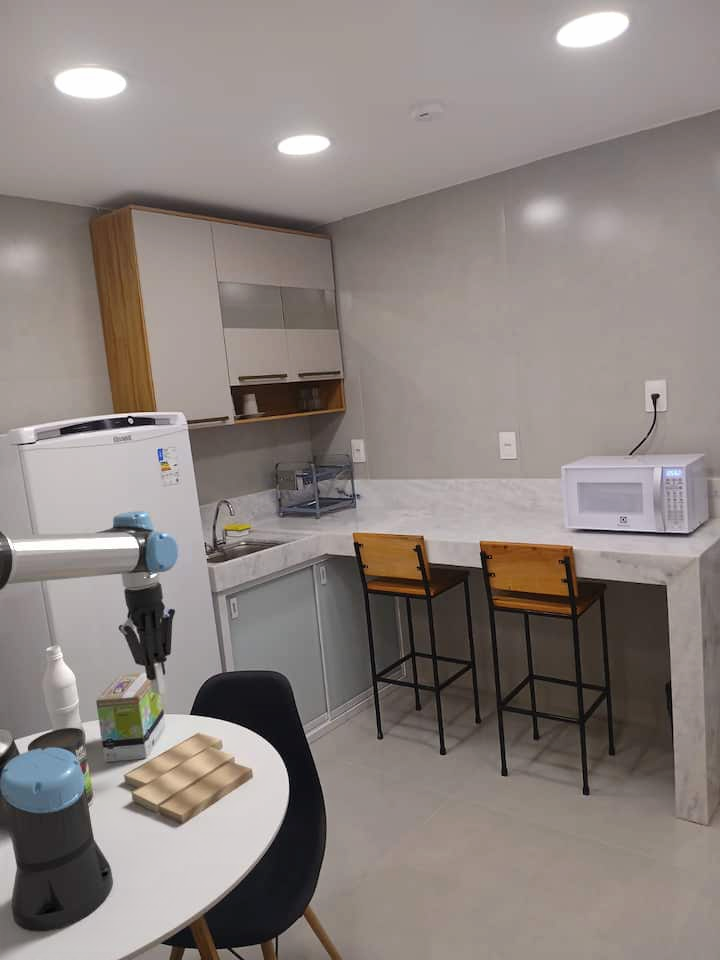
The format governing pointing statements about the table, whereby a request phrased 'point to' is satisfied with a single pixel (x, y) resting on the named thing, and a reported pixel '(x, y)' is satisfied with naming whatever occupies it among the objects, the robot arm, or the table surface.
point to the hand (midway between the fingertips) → (158, 691)
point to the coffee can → (71, 742)
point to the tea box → (130, 718)
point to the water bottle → (61, 692)
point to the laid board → (205, 792)
